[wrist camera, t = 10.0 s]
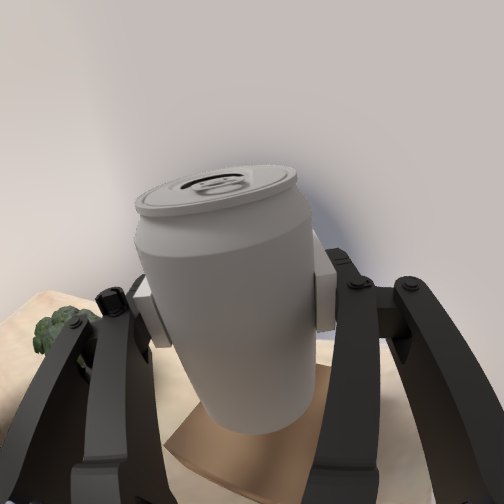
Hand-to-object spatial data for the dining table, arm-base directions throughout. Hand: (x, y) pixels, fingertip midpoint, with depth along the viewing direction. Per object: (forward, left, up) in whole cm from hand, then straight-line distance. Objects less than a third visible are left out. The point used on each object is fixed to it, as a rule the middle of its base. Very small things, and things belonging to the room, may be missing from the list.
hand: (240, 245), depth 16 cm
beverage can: (+3, -5, -7) cm, 9 cm away
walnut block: (+2, -3, -18) cm, 18 cm away
